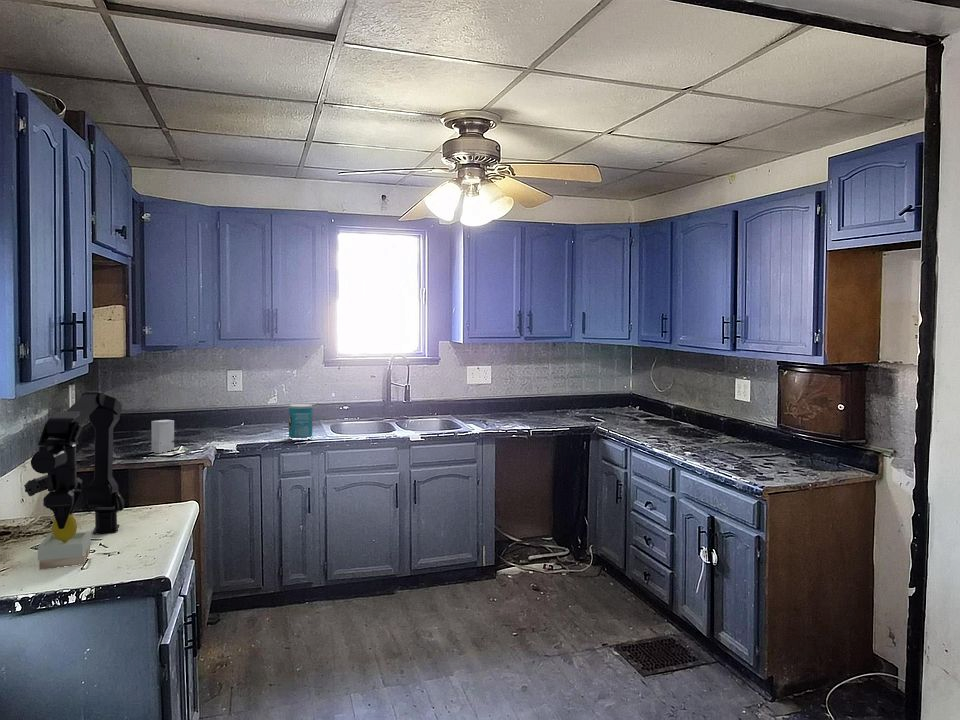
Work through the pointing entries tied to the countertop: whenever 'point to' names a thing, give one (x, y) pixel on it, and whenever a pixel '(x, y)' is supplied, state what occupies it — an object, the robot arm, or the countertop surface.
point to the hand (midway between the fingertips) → (64, 523)
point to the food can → (300, 420)
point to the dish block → (64, 546)
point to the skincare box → (162, 436)
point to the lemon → (65, 529)
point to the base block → (63, 561)
